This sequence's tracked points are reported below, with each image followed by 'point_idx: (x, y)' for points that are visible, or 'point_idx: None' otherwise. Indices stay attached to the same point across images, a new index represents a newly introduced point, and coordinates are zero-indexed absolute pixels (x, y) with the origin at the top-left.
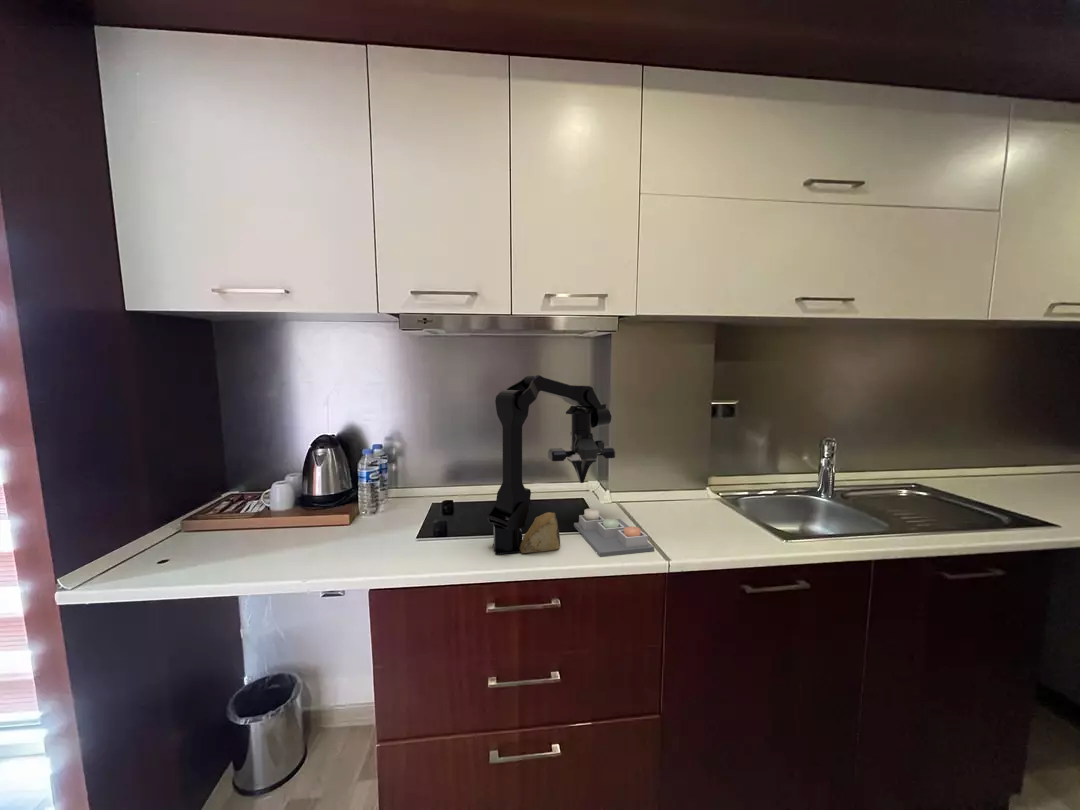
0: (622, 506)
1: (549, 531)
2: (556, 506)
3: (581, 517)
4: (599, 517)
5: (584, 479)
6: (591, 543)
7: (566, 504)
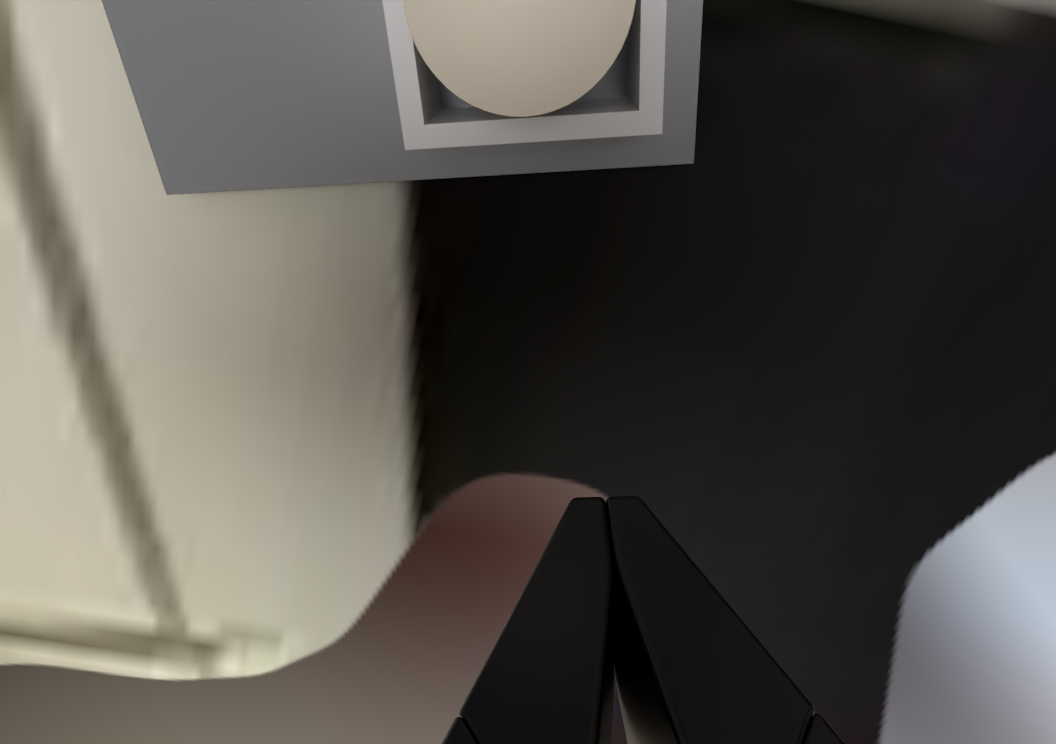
0: (138, 561)
1: None
2: None
3: (662, 26)
4: None
5: (553, 544)
6: None
7: None
